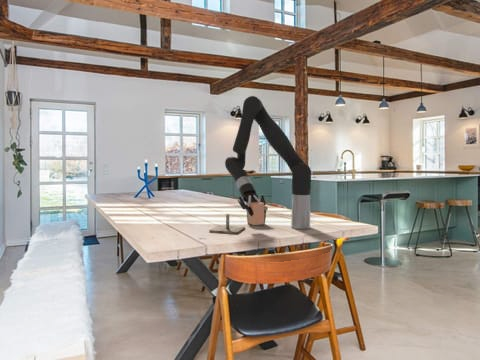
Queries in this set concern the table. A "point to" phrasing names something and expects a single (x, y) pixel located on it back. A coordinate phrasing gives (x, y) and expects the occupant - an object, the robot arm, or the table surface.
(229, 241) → the table surface
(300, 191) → the robot arm
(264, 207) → the food container
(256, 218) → the salmon pink block
